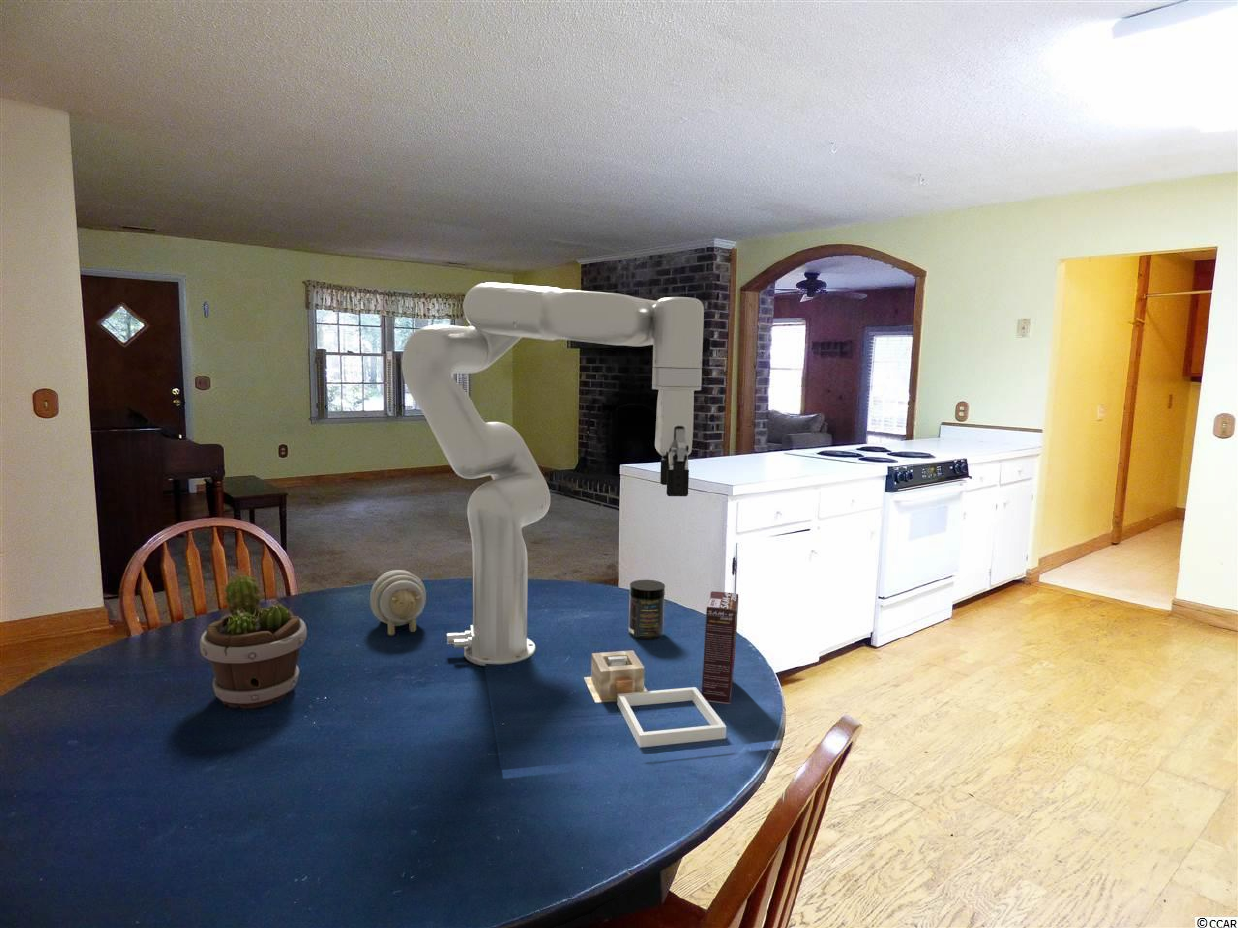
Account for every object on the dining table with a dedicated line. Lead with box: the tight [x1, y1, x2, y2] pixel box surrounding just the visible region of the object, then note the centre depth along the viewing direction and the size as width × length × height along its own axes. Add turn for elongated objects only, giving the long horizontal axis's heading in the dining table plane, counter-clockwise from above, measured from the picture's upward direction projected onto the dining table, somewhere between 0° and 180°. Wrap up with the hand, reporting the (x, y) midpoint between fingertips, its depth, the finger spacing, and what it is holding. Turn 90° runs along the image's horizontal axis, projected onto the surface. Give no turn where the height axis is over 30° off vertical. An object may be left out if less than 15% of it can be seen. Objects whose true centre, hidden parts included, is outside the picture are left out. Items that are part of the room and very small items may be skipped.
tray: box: [616, 686, 727, 749], centre depth 108 cm, size 13×13×2 cm
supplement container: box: [628, 579, 666, 641], centre depth 141 cm, size 7×7×10 cm
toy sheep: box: [369, 569, 427, 636], centre depth 143 cm, size 11×17×11 cm, turn 32°
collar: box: [590, 649, 646, 699], centre depth 117 cm, size 7×8×4 cm
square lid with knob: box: [583, 656, 648, 704], centre depth 118 cm, size 9×9×6 cm
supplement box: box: [700, 590, 739, 705], centre depth 117 cm, size 9×5×16 cm, turn 168°
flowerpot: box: [199, 565, 308, 709], centre depth 112 cm, size 14×15×20 cm
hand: (673, 489), depth 115 cm, fingers open, 9 cm apart
